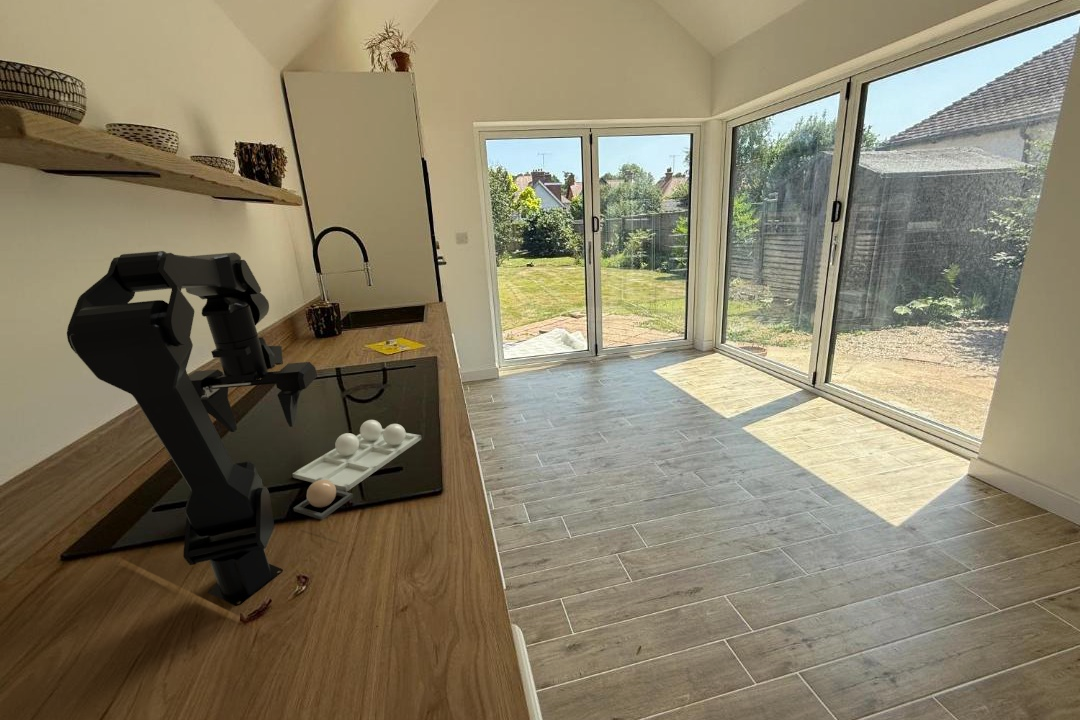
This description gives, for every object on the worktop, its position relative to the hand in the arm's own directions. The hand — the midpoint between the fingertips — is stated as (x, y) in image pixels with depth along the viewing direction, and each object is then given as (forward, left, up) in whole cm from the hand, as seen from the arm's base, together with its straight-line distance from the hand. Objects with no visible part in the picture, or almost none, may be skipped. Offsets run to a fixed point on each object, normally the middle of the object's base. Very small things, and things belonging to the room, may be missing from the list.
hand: (263, 428), depth 76 cm
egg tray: (-3, -15, -14) cm, 20 cm away
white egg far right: (0, -21, -13) cm, 25 cm away
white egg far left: (-7, -21, -13) cm, 25 cm away
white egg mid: (0, -15, -13) cm, 19 cm away
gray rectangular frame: (-9, -1, -14) cm, 16 cm away
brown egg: (-9, -1, -13) cm, 16 cm away
